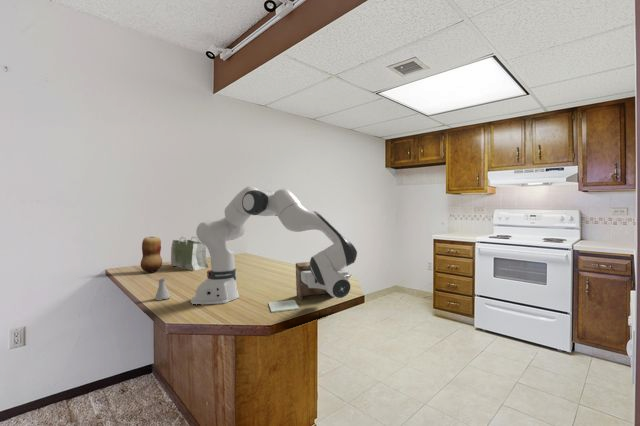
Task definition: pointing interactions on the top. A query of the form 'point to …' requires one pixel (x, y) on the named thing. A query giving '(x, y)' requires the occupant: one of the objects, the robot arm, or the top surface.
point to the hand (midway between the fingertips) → (320, 271)
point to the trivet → (283, 306)
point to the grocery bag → (188, 254)
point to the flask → (162, 290)
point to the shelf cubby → (301, 286)
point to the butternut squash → (151, 254)
